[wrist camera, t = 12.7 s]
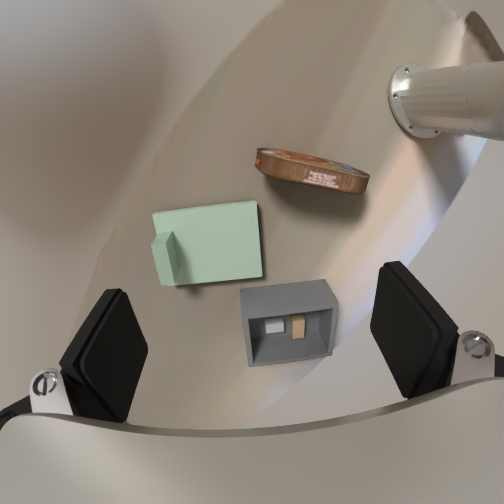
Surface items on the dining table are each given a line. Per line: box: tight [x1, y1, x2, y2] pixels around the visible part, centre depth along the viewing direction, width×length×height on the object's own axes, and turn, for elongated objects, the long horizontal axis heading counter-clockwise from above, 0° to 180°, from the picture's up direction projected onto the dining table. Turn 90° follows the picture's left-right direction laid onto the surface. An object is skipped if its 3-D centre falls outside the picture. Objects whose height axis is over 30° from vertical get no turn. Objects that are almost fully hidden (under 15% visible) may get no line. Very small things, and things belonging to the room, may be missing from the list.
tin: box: [255, 148, 370, 195], centre depth 34 cm, size 15×3×8 cm, turn 80°
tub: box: [240, 279, 338, 367], centre depth 44 cm, size 14×11×7 cm
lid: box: [151, 200, 262, 286], centre depth 38 cm, size 14×11×7 cm
